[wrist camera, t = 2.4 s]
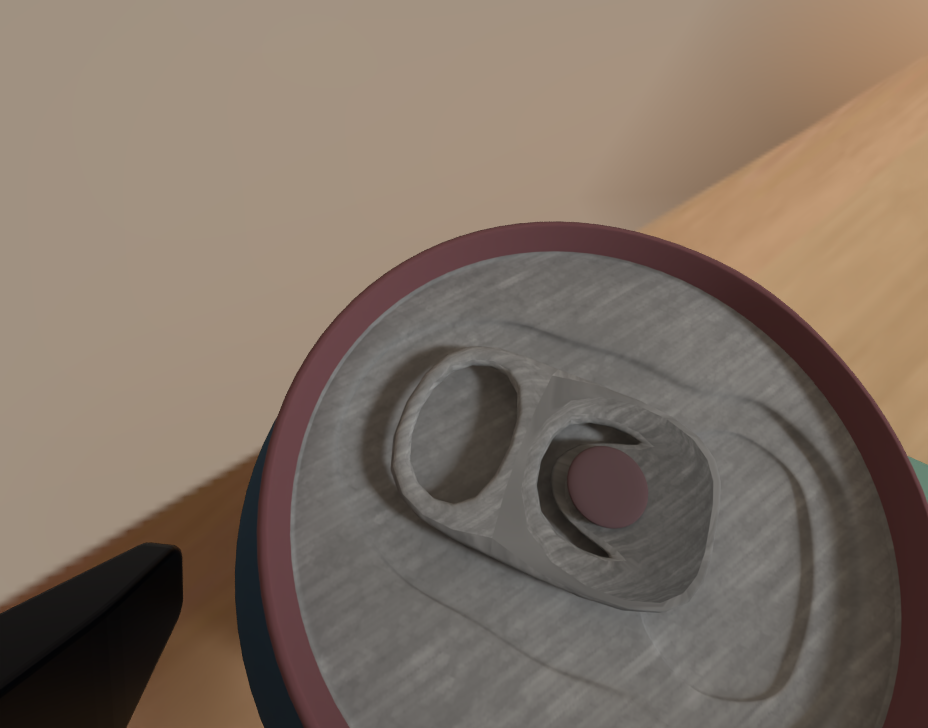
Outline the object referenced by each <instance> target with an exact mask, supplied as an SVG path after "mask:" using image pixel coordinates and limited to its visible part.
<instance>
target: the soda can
mask: <svg viewBox="0 0 928 728" xmlns="http://www.w3.org/2000/svg"><path fill="white" fill-rule="evenodd" d="M235 602H236V613H237V625H238V633H239V639H240V645H241V650H242V656H243V661H244V665H245V669H246V673H247V677H248V681H249V685H250V689H251V692H252V695H253V698H254V701H255V704H256V707H257V710H258V713H259V716H260V718H261V721H262V723H263V726H264V728H928V502H927V500H926V497H925V494H924V491H923V489H922V487H921V484H920V482H919V480H918V478H917V475H916V473H915V471H914V469H913V466H912V464H911V462H910V460H909V458H908V456H907V454H906V452H905V451H904V449H903V447H902V445H901V443H900V441H899V439H898V438H897V436H896V434H895V432H894V431H893V429H892V427H891V426H890V424H889V422H888V421H887V419H886V417H885V416H884V414H883V413H882V411H881V410H880V408H879V407H878V405H877V404H876V402H875V401H874V399H873V398H872V397H871V395H870V394H869V393H868V391H867V390H866V389H865V387H864V386H863V385H862V383H861V382H860V381H859V379H858V378H857V377H856V376H855V374H854V373H853V372H852V371H851V370H850V368H849V367H848V366H847V365H846V364H845V362H844V361H843V360H842V359H841V358H840V357H839V355H838V354H837V353H836V352H835V351H834V350H833V349H832V348H831V347H830V346H829V344H828V343H827V342H826V341H825V340H824V339H823V338H822V337H821V336H820V335H819V334H818V333H817V332H816V331H815V330H814V329H813V328H812V327H811V326H810V325H809V324H808V323H807V322H805V321H804V320H803V319H802V318H801V317H800V316H799V315H798V314H797V313H796V312H794V311H793V310H792V309H791V308H790V307H789V306H787V305H786V304H785V303H784V302H782V301H781V300H780V299H779V298H777V297H776V296H775V295H774V294H772V293H771V292H769V291H768V290H766V289H765V288H764V287H762V286H761V285H759V284H758V283H757V282H755V281H753V280H752V279H750V278H748V277H747V276H745V275H743V274H742V273H740V272H738V271H736V270H735V269H733V268H731V267H729V266H727V265H725V264H723V263H721V262H719V261H717V260H715V259H712V258H710V257H708V256H706V255H703V254H701V253H699V252H697V251H694V250H691V249H689V248H686V247H683V246H681V245H678V244H675V243H672V242H669V241H666V240H663V239H660V238H657V237H653V236H650V235H646V234H643V233H639V232H635V231H630V230H626V229H621V228H616V227H610V226H604V225H598V224H589V223H579V222H532V223H519V224H512V225H505V226H499V227H494V228H489V229H485V230H480V231H477V232H473V233H470V234H466V235H463V236H459V237H456V238H454V239H451V240H448V241H446V242H443V243H440V244H438V245H436V246H434V247H431V248H429V249H427V250H425V251H423V252H421V253H419V254H417V255H415V256H413V257H411V258H410V259H408V260H406V261H404V262H402V263H401V264H399V265H398V266H396V267H395V268H393V269H391V270H390V271H388V272H387V273H385V274H384V275H383V276H381V277H380V278H379V279H377V280H376V281H375V282H373V283H372V284H371V285H369V286H368V287H367V288H366V289H365V290H364V291H363V292H361V293H360V294H359V295H358V296H357V297H356V298H355V299H354V300H352V301H351V302H350V304H349V305H348V306H347V307H346V308H345V309H344V310H343V311H342V312H341V313H340V314H339V315H338V316H337V317H336V318H335V319H334V321H333V322H332V323H331V324H330V325H329V327H328V328H327V329H326V330H325V331H324V333H323V334H322V335H321V336H320V338H319V339H318V341H317V342H316V344H315V345H314V346H313V348H312V349H311V351H310V352H309V354H308V355H307V357H306V359H305V360H304V362H303V364H302V365H301V367H300V369H299V371H298V372H297V374H296V376H295V378H294V380H293V382H292V384H291V386H290V388H289V390H288V392H287V394H286V396H285V399H284V401H283V404H282V406H281V409H280V411H279V414H278V416H277V418H276V420H275V421H274V423H273V425H272V428H271V430H270V432H269V434H268V436H267V438H266V440H265V442H264V444H263V446H262V449H261V451H260V454H259V456H258V459H257V461H256V464H255V466H254V469H253V472H252V476H251V479H250V482H249V485H248V489H247V492H246V496H245V501H244V505H243V510H242V514H241V519H240V526H239V533H238V540H237V550H236V564H235Z"/></svg>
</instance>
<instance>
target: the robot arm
mask: <svg viewBox="0 0 928 728" xmlns="http://www.w3.org/2000/svg"><path fill="white" fill-rule="evenodd" d="M182 603H183V569H182V553H181V550H180V549H179V548H178V547H177V546H175V545H168V544H159V543H143V544H141V545H138V546H136V547H134V548H132V549H130V550H128V551H126V552H124V553H122V554H120V555H118V556H116V557H114V558H112V559H110V560H108V561H106V562H104V563H102V564H100V565H98V566H96V567H94V568H92V569H90V570H88V571H86V572H84V573H82V574H80V575H78V576H76V577H74V578H72V579H70V580H67V581H65V582H63V583H61V584H59V585H57V586H55V587H53V588H51V589H49V590H47V591H45V592H43V593H41V594H39V595H37V596H35V597H33V598H31V599H29V600H27V601H25V602H23V603H21V604H19V605H17V606H15V607H13V608H11V609H9V610H7V611H5V612H3V613H1V614H0V728H126V727H127V725H128V723H129V721H130V719H131V717H132V715H133V713H134V711H135V709H136V706H137V704H138V702H139V700H140V698H141V696H142V694H143V692H144V690H145V687H146V685H147V683H148V681H149V679H150V677H151V675H152V673H153V671H154V669H155V666H156V664H157V662H158V660H159V658H160V656H161V654H162V652H163V650H164V648H165V645H166V643H167V641H168V639H169V637H170V635H171V633H172V631H173V629H174V626H175V624H176V622H177V620H178V618H179V615H180V612H181V608H182Z"/></svg>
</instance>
